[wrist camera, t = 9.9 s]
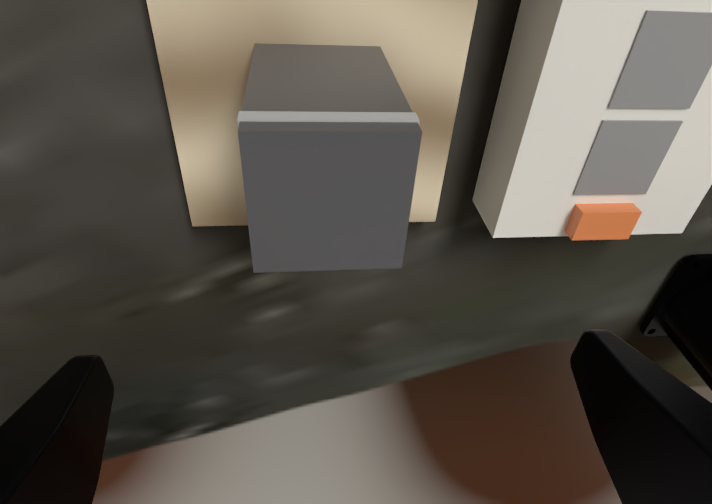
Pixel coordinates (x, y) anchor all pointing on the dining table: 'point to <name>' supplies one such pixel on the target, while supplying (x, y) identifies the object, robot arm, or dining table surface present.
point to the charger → (326, 158)
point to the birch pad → (307, 27)
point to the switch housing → (600, 121)
